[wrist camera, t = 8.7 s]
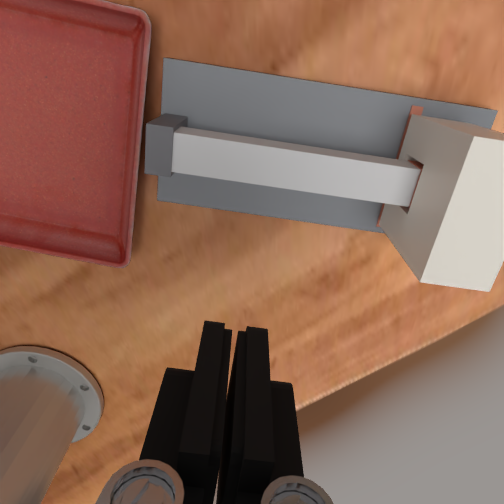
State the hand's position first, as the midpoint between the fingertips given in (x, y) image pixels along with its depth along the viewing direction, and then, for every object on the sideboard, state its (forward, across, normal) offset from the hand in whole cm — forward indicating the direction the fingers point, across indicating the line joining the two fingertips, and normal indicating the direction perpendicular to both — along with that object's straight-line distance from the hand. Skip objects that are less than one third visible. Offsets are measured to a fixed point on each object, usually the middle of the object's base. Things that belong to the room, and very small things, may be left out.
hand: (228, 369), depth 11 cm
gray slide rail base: (+22, -5, -2) cm, 23 cm away
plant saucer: (+23, +16, -1) cm, 29 cm away
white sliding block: (+20, -12, -2) cm, 24 cm away
